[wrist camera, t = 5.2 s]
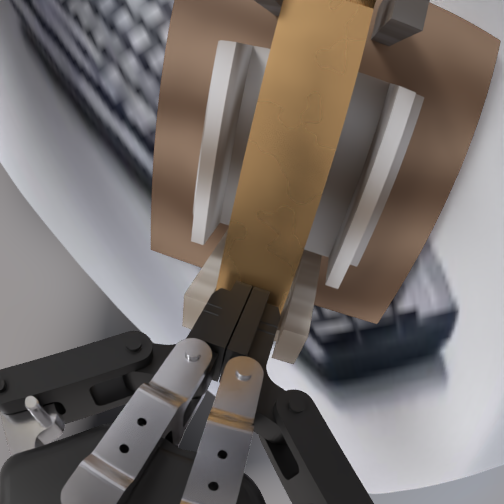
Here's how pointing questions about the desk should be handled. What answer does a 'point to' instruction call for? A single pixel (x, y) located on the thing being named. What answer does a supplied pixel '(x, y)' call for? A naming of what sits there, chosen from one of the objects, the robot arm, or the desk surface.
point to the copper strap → (293, 140)
